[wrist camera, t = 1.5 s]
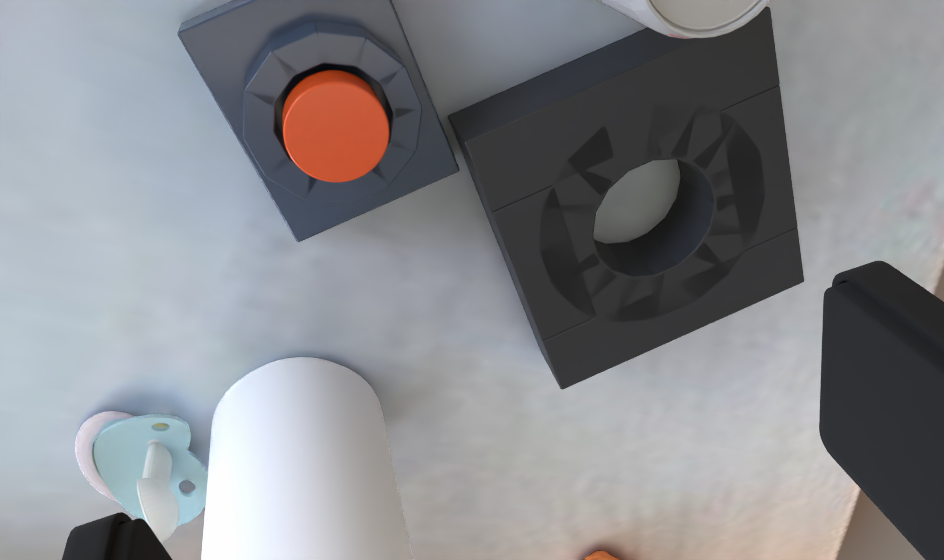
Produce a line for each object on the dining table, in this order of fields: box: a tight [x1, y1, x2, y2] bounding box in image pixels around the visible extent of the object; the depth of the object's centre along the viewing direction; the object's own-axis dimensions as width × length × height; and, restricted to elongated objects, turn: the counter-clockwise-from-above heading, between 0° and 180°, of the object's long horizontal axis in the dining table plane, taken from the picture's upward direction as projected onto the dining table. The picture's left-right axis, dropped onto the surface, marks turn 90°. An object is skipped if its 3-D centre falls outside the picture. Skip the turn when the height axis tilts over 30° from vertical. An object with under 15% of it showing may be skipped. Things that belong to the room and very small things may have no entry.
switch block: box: [178, 0, 459, 242], centre depth 32 cm, size 10×8×4 cm
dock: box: [448, 7, 804, 389], centre depth 38 cm, size 15×14×4 cm
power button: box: [282, 70, 390, 182], centre depth 30 cm, size 4×4×2 cm
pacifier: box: [75, 411, 208, 543], centre depth 38 cm, size 7×6×6 cm
